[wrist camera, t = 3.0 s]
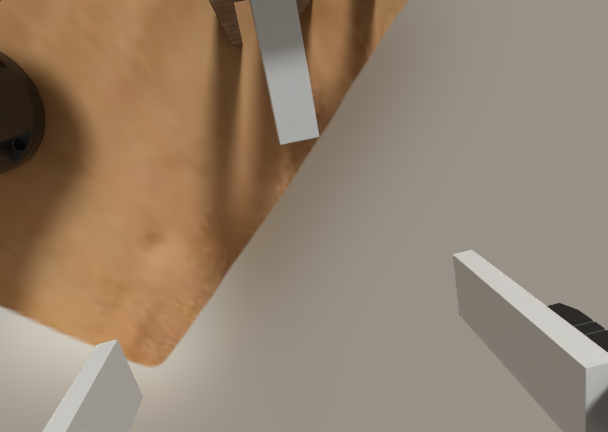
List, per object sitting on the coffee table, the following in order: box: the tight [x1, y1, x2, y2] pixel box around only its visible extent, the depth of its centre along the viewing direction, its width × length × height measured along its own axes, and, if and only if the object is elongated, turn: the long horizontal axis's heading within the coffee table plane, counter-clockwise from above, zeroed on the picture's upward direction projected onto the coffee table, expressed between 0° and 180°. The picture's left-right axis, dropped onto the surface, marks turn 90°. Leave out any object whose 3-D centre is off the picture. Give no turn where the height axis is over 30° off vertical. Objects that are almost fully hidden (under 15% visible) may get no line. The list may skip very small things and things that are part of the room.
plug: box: [250, 0, 319, 145], centre depth 19 cm, size 5×14×6 cm, turn 11°
